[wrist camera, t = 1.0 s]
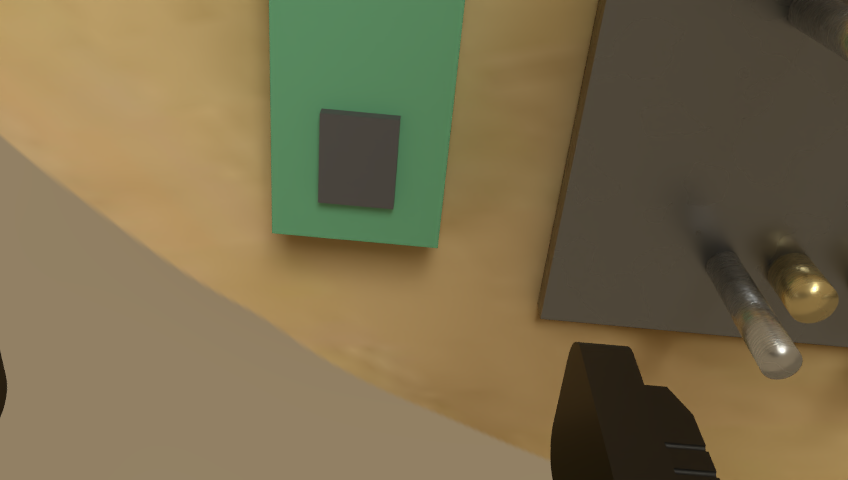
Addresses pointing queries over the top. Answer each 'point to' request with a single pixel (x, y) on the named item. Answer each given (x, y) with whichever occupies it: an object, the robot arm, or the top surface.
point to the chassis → (709, 176)
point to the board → (362, 117)
